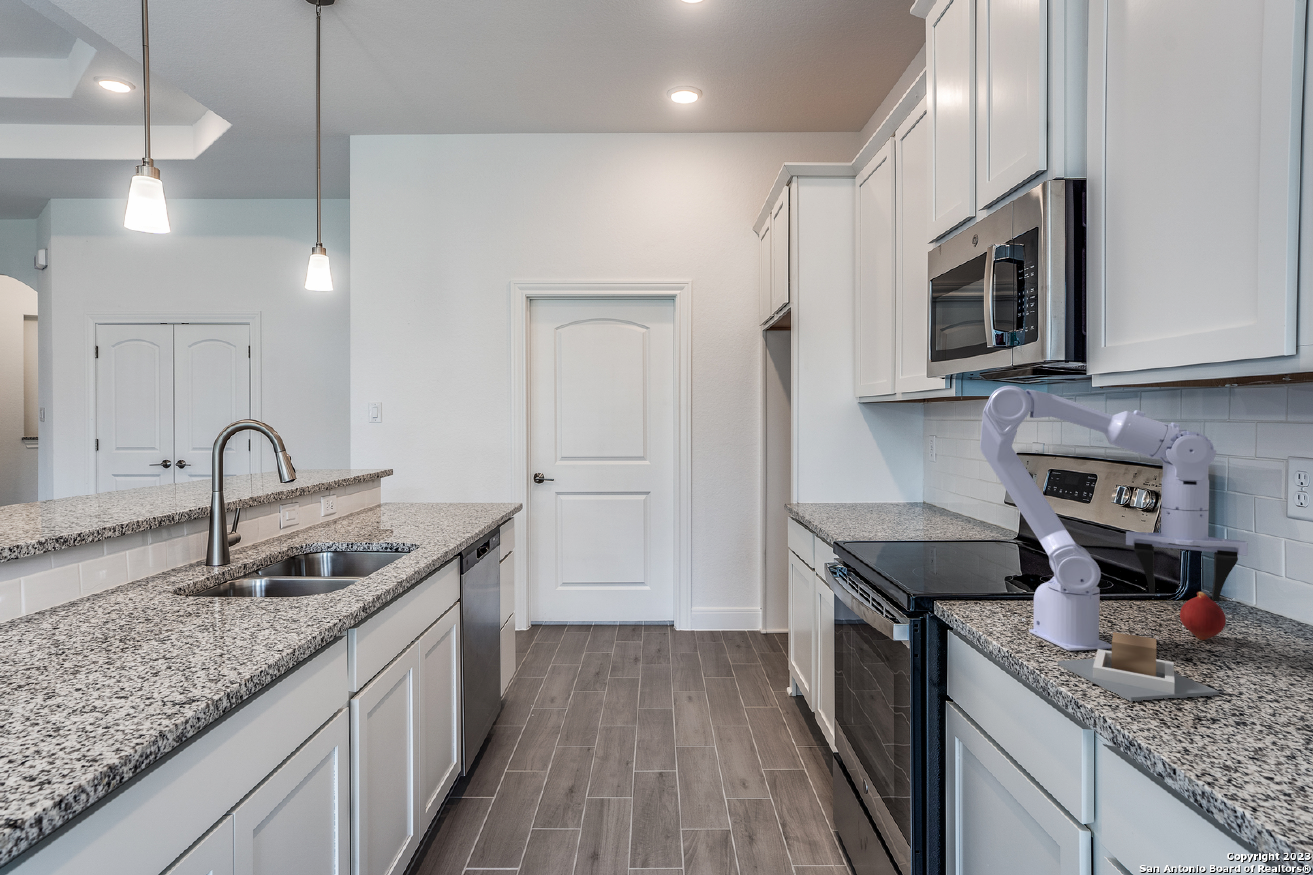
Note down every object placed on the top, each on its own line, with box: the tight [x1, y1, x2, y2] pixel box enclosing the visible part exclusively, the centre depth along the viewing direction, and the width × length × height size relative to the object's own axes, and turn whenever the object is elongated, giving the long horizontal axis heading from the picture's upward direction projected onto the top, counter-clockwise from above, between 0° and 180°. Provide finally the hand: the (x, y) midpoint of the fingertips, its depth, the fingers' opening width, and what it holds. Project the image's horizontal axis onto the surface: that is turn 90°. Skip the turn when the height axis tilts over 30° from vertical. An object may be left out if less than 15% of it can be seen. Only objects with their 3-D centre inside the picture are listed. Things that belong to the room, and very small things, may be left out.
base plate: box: [1057, 649, 1220, 703], centre depth 93 cm, size 13×13×2 cm
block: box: [1111, 631, 1157, 677], centre depth 93 cm, size 5×5×5 cm
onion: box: [1179, 591, 1227, 641], centre depth 109 cm, size 6×6×8 cm
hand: (1183, 595), depth 101 cm, fingers open, 7 cm apart
